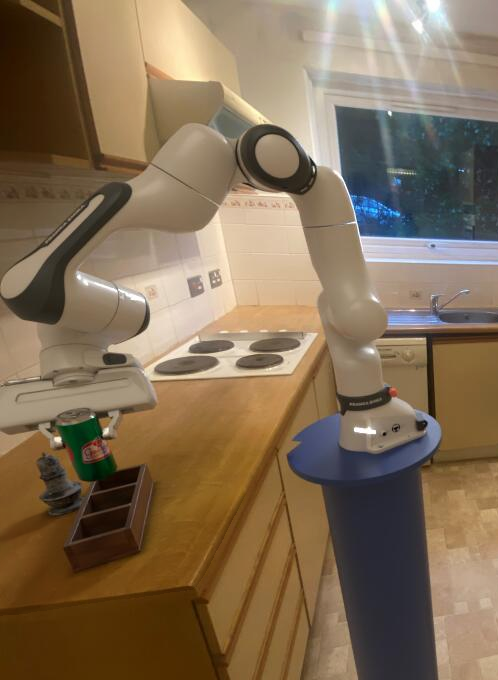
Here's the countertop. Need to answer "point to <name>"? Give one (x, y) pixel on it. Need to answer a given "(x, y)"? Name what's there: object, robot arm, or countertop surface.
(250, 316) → the countertop surface
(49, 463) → the grey stacked stone piece
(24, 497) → the countertop surface
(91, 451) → the soda can
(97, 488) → the wooden compartment tray
